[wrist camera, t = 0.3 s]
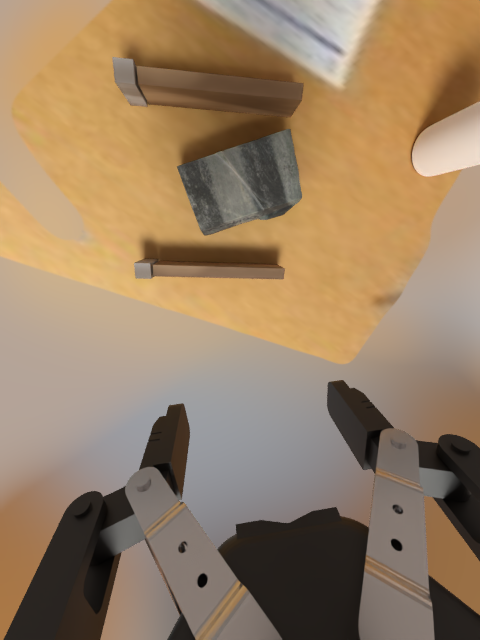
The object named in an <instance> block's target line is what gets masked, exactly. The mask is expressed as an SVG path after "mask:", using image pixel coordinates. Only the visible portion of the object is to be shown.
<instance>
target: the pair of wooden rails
mask: <svg viewBox="0 0 480 640" xmlns="http://www.w3.org/2000/svg"><path fill="white" fill-rule="evenodd" d="M113 67H114V77H115V83H116V84H117V86H118V87H119V89H120V90H121V92H122V93H123V94H124V96H125V97H126V99H127V100H128V102H129V103H130V105H135V106H146V107H148V106H147V101H148V103H149V104H151V105H162V106H173V107H184V108H195V109H206V110H217V111H228V112H239V113H249V114H260V115H271V116H282V117H291V116H292V114H293V113H294V111H295V110H296V108H297V107H298V105H299V104H300V102H301V101H302V93H303V83H295V82H285V81H276V80H266V79H257V78H247V77H238V76H229V75H219V74H210V73H200V72H191V71H182V70H172V69H163V68H153V67H144V66H137V67H136V65H135V63H134V60H133V59H126V58H117V57H113ZM134 267H135V276H136V278H144V279H151V278H153V277H154V276H167V277H209V278H251V279H284V271H285V269H284V268H283V267H281V266H279V265H277V264H245V263H211V262H178V261H159V260H158V259H143V260H140V261H138V262H135V263H134Z"/></svg>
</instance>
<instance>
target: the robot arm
mask: <svg viewBox="0 0 480 640" xmlns="http://www.w3.org/2000/svg"><path fill="white" fill-rule="evenodd" d="M327 407H328V411H329V414H330V416H331V418H332V419H333V421H334V422H335V424H336V426H337V428H338V429H339V431H340V433H341V434H342V436H343V438H344V439H345V441H346V443H347V444H348V446H349V447H350V449H351V451H352V452H353V454H354V456H355V457H356V459H357V461H358V462H359V464H360V466H361V467H362V469H363V470H367V469H372V470H373V471H374V473H375V478H374V487H373V495H372V502H371V511H370V520H369V527H367V526H365V525H364V524H362V523H360V522H358V521H355V520H353V519H350V518H346V517H342V516H340V515H339V512H338V510H337V508H336V507H334V508H328V509H322V510H317V511H312V512H310V513H308V514H306V515H304V516H302V517H300V518H298V519H296V520H295V521H293V522H291V523H280V522H272V521H264V520H259V521H253V522H248V523H242V524H237V525H236V533H237V534H235V535H234V536H232V537H230V538H229V539H228V540H226V541H225V542H224V543H223V544H222V545H221V546H220V547H219V548H218V549H216V547H215V546H214V544H213V543H212V542H211V540H210V539H209V537H208V536H207V534H206V533H205V532H204V530H203V529H202V527H201V526H200V524H199V523H198V521H197V520H196V519H195V517H194V516H193V514H192V513H191V511H190V510H189V509H188V507H187V506H186V504H185V503H184V502H180V501H179V500H181V499H182V494H183V486H184V478H185V470H186V462H187V454H188V446H189V438H190V430H189V423H188V419H187V415H186V411H185V407H184V404H176V405H169V407H168V410H167V414H166V416H162V417H159V418H158V420H157V421H156V422H155V424H154V425H153V428H152V431H151V435H150V437H149V440H148V441H149V442H148V443H147V447H146V450H145V453H144V456H143V459H142V463H141V465H140V469H139V471H137V472H136V473H135V474H133V475H132V476H131V478H130V479H129V481H128V482H127V484H126V486H125V487H123V488H121V489H119V490H117V491H115V492H113V493H111V494H109V495H106V496H104V497H103V496H102V494H101V493H100V492H97V491H91V492H87V493H85V494H83V495H81V496H80V497H78V498H77V499H76V500H74V501H73V502H72V503H71V504H70V505H69V507H68V508H67V509H66V511H65V513H64V515H63V517H62V519H61V521H60V523H59V525H58V527H57V529H56V531H55V533H54V535H53V538H52V540H51V542H50V544H49V546H48V548H47V550H46V552H45V554H44V557H43V559H42V560H41V563H40V565H39V567H38V569H37V571H36V573H35V575H34V577H33V580H32V582H31V584H30V586H29V588H28V590H27V592H26V594H25V596H24V598H23V600H22V602H21V605H20V606H19V609H18V611H17V613H16V615H15V617H14V619H13V621H12V623H11V625H10V627H9V629H8V632H7V634H6V636H5V638H4V640H100V638H101V634H102V630H103V626H104V622H105V618H106V614H107V610H108V605H109V601H110V597H111V593H112V589H113V585H114V581H115V577H116V572H117V568H118V564H119V560H120V556H121V552H122V551H124V550H126V549H128V548H129V547H131V546H133V545H135V544H137V543H138V542H140V541H142V540H144V539H145V541H146V543H147V546H148V548H149V550H150V552H151V554H152V556H153V558H154V560H155V563H156V565H157V567H158V569H159V571H160V573H161V575H162V578H163V580H164V582H165V584H166V586H167V589H168V591H169V593H170V596H171V598H172V600H173V602H174V604H175V606H176V609H177V611H178V613H179V615H180V617H179V619H178V621H177V622H176V624H175V626H174V628H173V630H172V632H171V634H170V636H169V638H168V639H167V640H480V615H479V614H477V613H476V612H475V611H474V610H472V609H471V608H470V607H468V606H467V605H466V604H465V603H463V602H462V601H461V600H460V599H458V598H457V597H456V596H455V595H453V594H452V593H450V591H448V590H447V589H446V588H445V587H443V586H442V585H441V584H439V583H438V582H437V581H436V580H435V579H433V578H432V577H430V576H429V575H428V564H427V546H426V527H425V510H424V496H430V497H433V498H434V500H435V501H436V502H437V504H438V505H439V506H440V508H441V509H442V510H443V512H444V513H445V515H446V516H447V517H448V519H449V520H450V521H451V523H452V524H453V525H454V527H455V528H456V530H457V531H458V532H459V534H460V535H461V536H462V537H463V539H464V540H465V542H466V543H467V544H468V546H469V547H470V549H471V550H472V551H473V553H474V554H475V555H476V557H477V558H478V559H479V561H480V448H479V447H478V446H477V445H475V444H474V443H472V442H471V441H469V440H467V439H465V438H463V437H460V436H457V435H451V434H446V435H442V436H441V437H440V438H439V440H438V443H432V442H423V441H417V440H415V439H414V438H413V437H412V436H411V435H409V434H408V433H406V432H404V431H402V430H399V429H395V428H394V427H393V426H392V425H391V424H390V423H389V422H388V421H387V420H386V418H385V417H384V416H383V415H382V414H381V413H380V412H379V410H378V409H377V408H375V406H374V405H373V404H372V402H370V400H369V399H368V398H367V397H366V396H365V395H364V393H362V392H360V391H359V390H357V389H355V388H351V389H350V388H349V386H348V385H347V384H346V383H345V382H344V381H343V380H339V381H333V382H329V383H328V395H327Z"/></svg>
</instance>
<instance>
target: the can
mask: <svg viewBox="0 0 480 640" xmlns="http://www.w3.org/2000/svg"><path fill="white" fill-rule="evenodd" d="M412 163H413V166H414V168H415V170H416V171H417V172H418V173H419V174H421V175H423V176H427V177H429V176H435V175H439V174H443V173H447V172H452V171H456V170H460V169H464V168H468V167H471V166H475V165H479V164H480V101H479V102H477V103H475V104H473V105H471V106H469V107H467V108H465V109H463V110H461V111H459V112H457V113H455V114H453V115H451V116H449V117H447V118H445V119H443V120H441V121H439V122H437V123H435V124H433V125H431V126H429V127H428V128H426V129H425V130H424V131H423V132H422V133H421V134H420V135H419V136H418V138H417V140H416V142H415V144H414V147H413V151H412Z"/></svg>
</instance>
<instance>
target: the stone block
mask: <svg viewBox="0 0 480 640" xmlns="http://www.w3.org/2000/svg"><path fill="white" fill-rule="evenodd" d="M177 168H178V171H179V174H180V176H181V179H182V182H183V185H184V187H185V190H186V193H187V195H188V198H189V201H190V203H191V206H192V209H193V211H194V214H195V216H196V219H197V221H198V224H199V227H200V230H201V231H202V233H203V234H204V235H210V234H213V233H216V232H219V231H221V230H224V229H227V228H230V227H233V226H236V225H239V224H242V223H245V222H249V221H252V220H255V219H260V220H267V219H271V218H274V217H278V216H281V215H284V214H285V213H286V212H287V211H288V210H289V209H291V208H292V207H293V206H294V205H295V204H297V203H298V202H299V201H300V200H301V198H302V193H301V187H300V182H299V172H298V167H297V162H296V157H295V153H294V147H293V141H292V136H291V131H290V129H287V130H284V131H281V132H278V133H275V134H272V135H269V136H266V137H263V138H260V139H257V140H254V141H251V142H248V143H245V144H242V145H239V146H236V147H233V148H230V149H227V150H224V151H219V152H217V153H216V154H213V155H210V156H207V157H204V158H201V159H198V160H195V161H192V162H189V163H186V164H183V165H180V166H177Z"/></svg>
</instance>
